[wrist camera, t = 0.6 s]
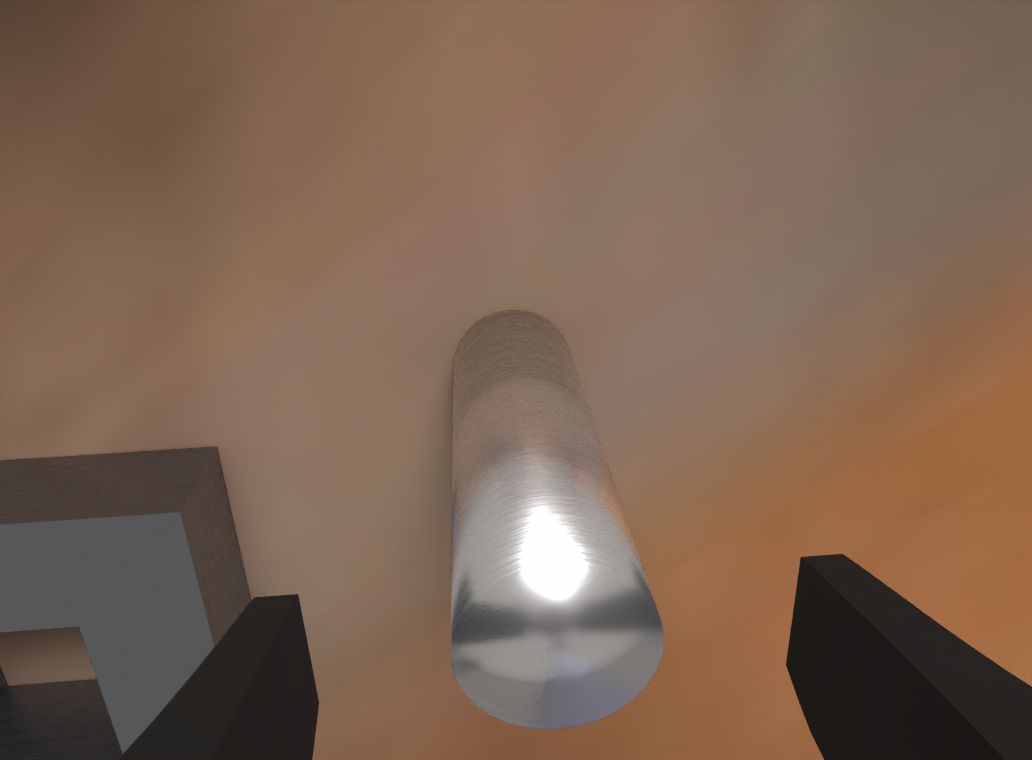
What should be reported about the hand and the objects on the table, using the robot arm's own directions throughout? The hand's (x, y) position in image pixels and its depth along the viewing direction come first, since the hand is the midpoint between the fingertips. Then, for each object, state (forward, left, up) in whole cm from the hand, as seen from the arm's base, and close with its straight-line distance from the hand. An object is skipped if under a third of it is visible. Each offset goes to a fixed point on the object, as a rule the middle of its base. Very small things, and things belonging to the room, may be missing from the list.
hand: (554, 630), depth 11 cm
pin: (0, 0, -10) cm, 10 cm away
